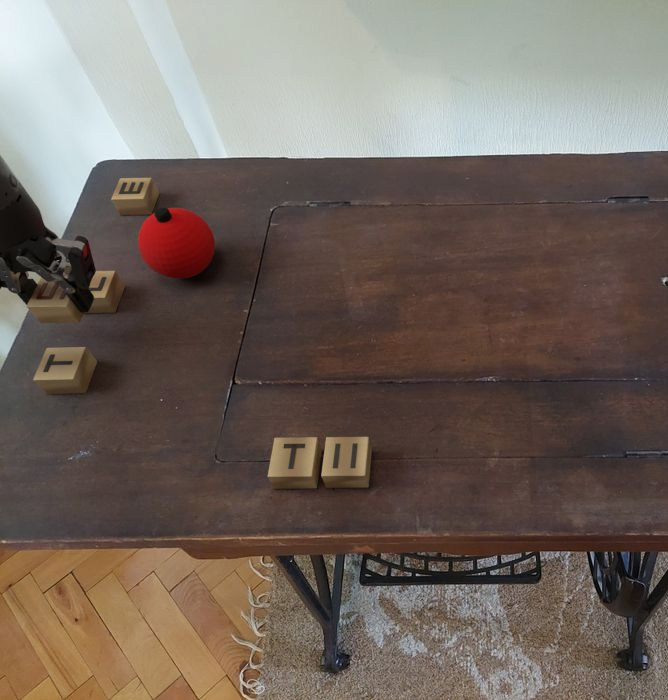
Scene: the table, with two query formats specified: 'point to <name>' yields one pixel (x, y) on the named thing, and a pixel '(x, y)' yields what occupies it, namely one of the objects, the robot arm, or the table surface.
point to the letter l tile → (106, 292)
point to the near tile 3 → (346, 462)
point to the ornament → (176, 243)
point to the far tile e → (135, 196)
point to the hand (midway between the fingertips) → (65, 306)
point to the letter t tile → (65, 370)
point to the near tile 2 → (295, 463)
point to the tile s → (52, 304)
